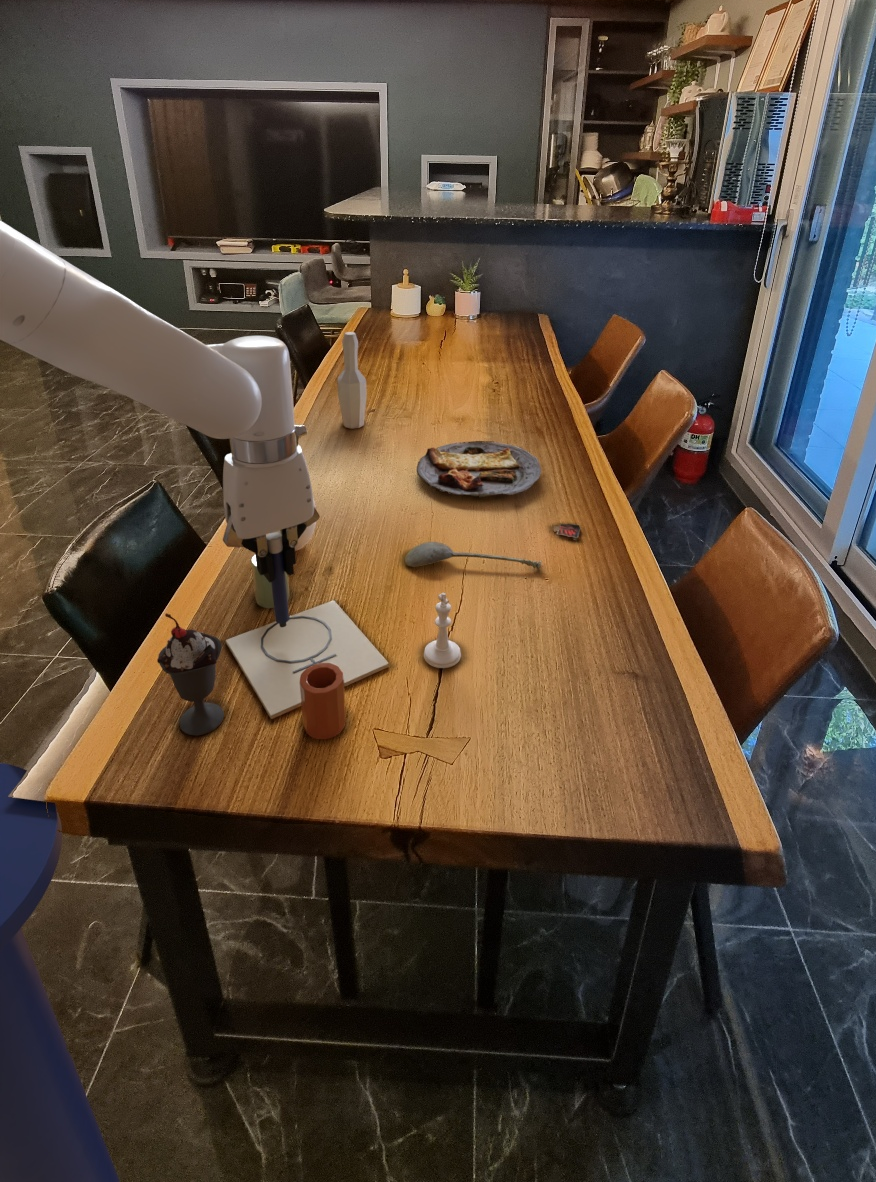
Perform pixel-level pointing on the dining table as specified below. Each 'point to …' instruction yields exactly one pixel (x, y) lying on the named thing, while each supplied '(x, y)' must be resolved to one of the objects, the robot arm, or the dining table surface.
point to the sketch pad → (302, 654)
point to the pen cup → (264, 587)
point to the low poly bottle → (351, 385)
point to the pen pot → (323, 700)
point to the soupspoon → (450, 555)
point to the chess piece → (442, 639)
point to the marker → (278, 579)
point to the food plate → (479, 468)
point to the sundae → (193, 676)
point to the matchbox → (568, 530)
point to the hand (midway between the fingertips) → (277, 572)
